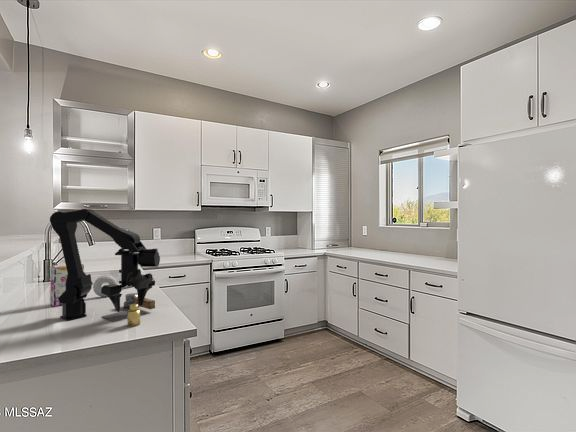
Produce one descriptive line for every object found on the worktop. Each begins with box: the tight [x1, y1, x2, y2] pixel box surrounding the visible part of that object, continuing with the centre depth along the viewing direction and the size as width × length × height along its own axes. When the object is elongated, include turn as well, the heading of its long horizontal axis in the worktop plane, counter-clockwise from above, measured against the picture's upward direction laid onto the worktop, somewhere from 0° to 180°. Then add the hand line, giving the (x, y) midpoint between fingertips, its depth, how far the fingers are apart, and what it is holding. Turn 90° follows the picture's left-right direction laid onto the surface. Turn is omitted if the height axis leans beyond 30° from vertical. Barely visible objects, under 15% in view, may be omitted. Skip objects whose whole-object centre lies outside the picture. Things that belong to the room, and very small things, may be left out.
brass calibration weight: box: [126, 304, 141, 328], centre depth 114 cm, size 4×4×7 cm
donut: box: [92, 274, 119, 298], centre depth 151 cm, size 10×4×10 cm, turn 125°
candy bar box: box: [49, 263, 85, 307], centre depth 140 cm, size 11×5×16 cm, turn 144°
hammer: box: [123, 292, 156, 310], centre depth 133 cm, size 17×6×4 cm, turn 56°
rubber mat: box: [101, 310, 127, 322], centre depth 123 cm, size 8×8×1 cm
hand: (129, 308), depth 123 cm, fingers open, 9 cm apart
